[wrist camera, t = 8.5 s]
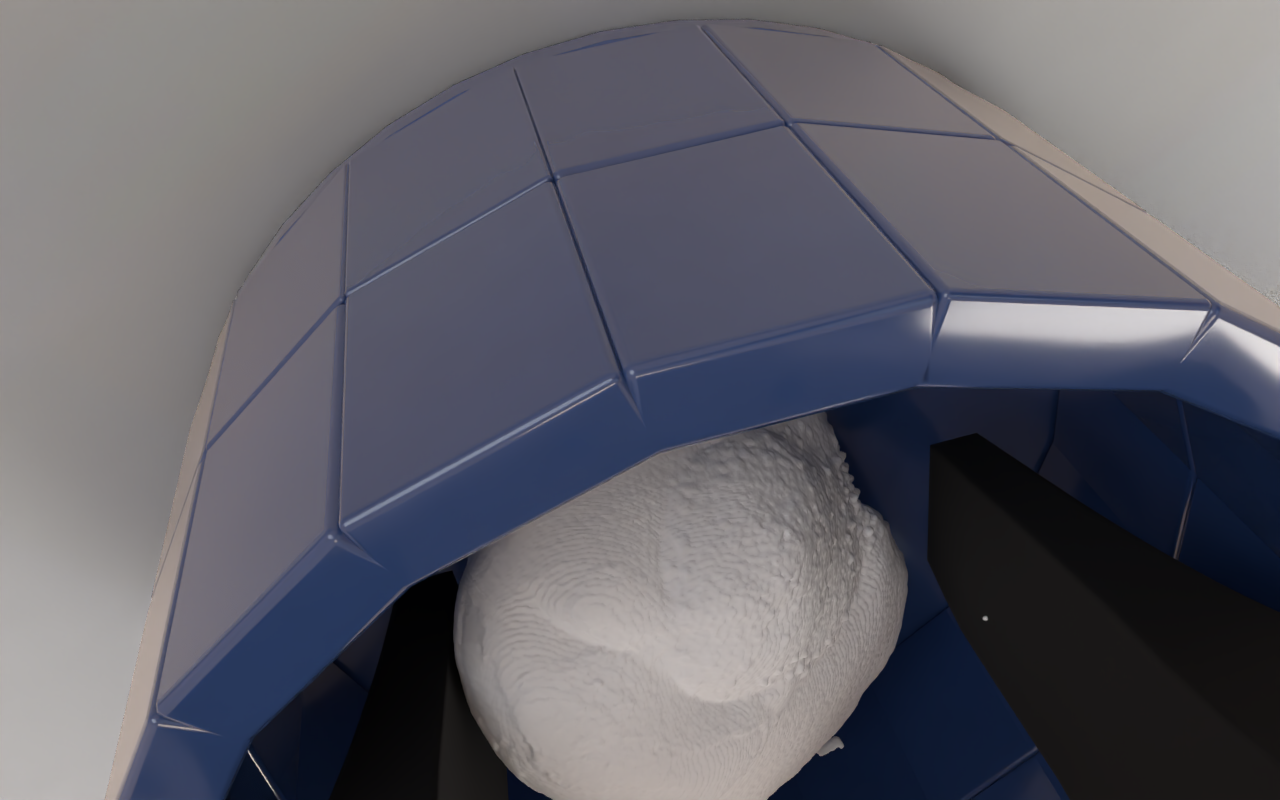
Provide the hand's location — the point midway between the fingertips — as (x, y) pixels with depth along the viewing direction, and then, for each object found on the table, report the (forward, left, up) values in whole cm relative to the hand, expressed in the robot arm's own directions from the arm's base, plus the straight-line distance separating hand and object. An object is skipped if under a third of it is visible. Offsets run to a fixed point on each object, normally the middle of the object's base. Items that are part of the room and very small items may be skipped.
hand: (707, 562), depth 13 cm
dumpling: (0, 0, -2) cm, 2 cm away
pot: (0, 0, -2) cm, 2 cm away
